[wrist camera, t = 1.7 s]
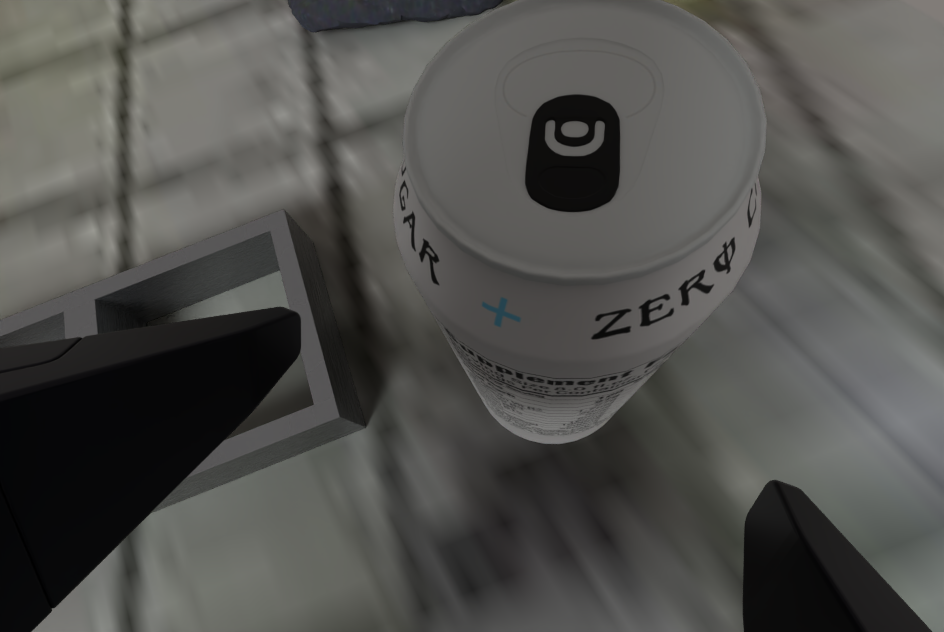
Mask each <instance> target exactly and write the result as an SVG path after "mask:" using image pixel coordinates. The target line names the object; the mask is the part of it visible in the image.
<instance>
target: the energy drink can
mask: <svg viewBox="0 0 944 632" xmlns="http://www.w3.org/2000/svg"><path fill="white" fill-rule="evenodd" d="M766 126H767V119H766V114H765V110H764V105H763V101H762V96H761V92H760V89H759V87H758V85H757V83H756V81H755V78H754V76H753V74H752V72H751V70H750V68H749V66H748V64H747V63H746V61H745V60H744V59H743V58H742V57H741V55H740V54H739V53H738V52H737V51H736V49H735V48H734V47H733V46H732V44H731V43H730V42H729V41H728V40H727V39H726V38H725V37H724V36H722V35H721V34H720V33H719V32H717V31H716V30H715V29H714V28H712V27H711V26H710V25H709V24H708V23H706V22H705V21H704V20H702V19H700V18H698V17H696V16H695V15H693V14H691V13H689V12H687V11H685V10H684V9H682V8H680V7H678V6H676V5H673V4H670V3H667V2H664V1H662V0H518V1H515V2H513V3H510V4H508V5H505V6H503V7H500V8H498V9H495V10H493V11H491V12H490V13H488V14H486V15H484V16H483V17H481V18H479V19H478V20H476V21H474V22H472V23H471V24H469V25H467V26H466V27H465V28H464V29H463V30H461V31H460V32H459V33H458V34H456V35H455V36H454V37H453V38H452V39H450V40H449V41H448V42H447V43H446V44H445V45H444V46H443V47H442V48H441V49H440V51H439V52H438V53H437V54H436V55H435V56H434V57H433V59H432V60H431V61H430V62H429V63H428V64H427V66H426V68H425V69H424V71H423V73H422V75H421V76H420V78H419V80H418V82H417V83H416V85H415V87H414V89H413V91H412V94H411V98H410V101H409V104H408V107H407V110H406V113H405V116H404V128H403V140H402V145H403V152H404V157H403V160H402V163H401V167H400V170H399V173H398V176H397V179H396V183H395V194H394V205H393V218H394V225H395V233H396V240H397V244H398V247H399V250H400V252H401V255H402V258H403V260H404V263H405V266H406V268H407V271H408V273H409V275H410V276H411V278H412V280H413V282H414V283H415V285H416V287H417V289H418V290H419V292H420V294H421V295H422V297H423V299H424V301H425V302H426V304H427V306H428V308H429V309H430V311H431V313H432V315H433V316H434V318H435V320H436V321H437V323H438V325H439V327H440V328H441V330H442V332H443V334H444V335H445V337H446V339H447V340H448V342H449V344H450V346H451V347H452V349H453V351H454V353H455V354H456V356H457V358H458V360H459V361H460V363H461V365H462V366H463V368H464V370H465V372H466V373H467V375H468V377H469V379H470V380H471V382H472V384H473V386H474V387H475V389H476V391H477V392H478V394H479V396H480V398H481V399H482V401H483V403H484V404H485V406H486V407H487V409H488V410H489V412H490V414H491V415H492V416H493V417H494V418H495V419H496V420H497V421H498V422H499V423H500V424H501V425H502V426H503V427H505V428H506V429H508V430H509V431H511V432H512V433H513V434H515V435H517V436H520V437H522V438H524V439H527V440H529V441H534V442H539V443H543V444H562V443H567V442H572V441H576V440H579V439H581V438H584V437H586V436H588V435H590V434H592V433H593V432H595V431H596V430H598V429H599V428H601V427H602V426H603V425H604V424H605V423H606V422H607V421H608V420H609V419H610V418H611V417H612V416H613V415H614V414H615V413H616V412H617V411H618V410H619V409H620V408H621V407H622V406H623V405H624V404H625V402H626V401H627V400H628V399H629V398H630V397H631V396H632V395H633V394H634V393H635V392H636V391H637V390H638V389H639V388H640V387H641V386H642V385H643V384H644V383H645V382H646V381H647V380H648V379H649V378H650V377H651V376H652V375H653V374H654V373H655V372H656V371H657V369H658V368H659V367H660V366H661V365H662V364H663V363H664V362H665V361H666V360H667V359H668V358H669V357H670V356H671V355H672V354H673V353H674V352H675V351H676V350H677V349H678V348H679V347H680V346H681V345H682V344H683V343H684V342H685V341H686V340H687V339H688V338H689V336H690V335H691V334H692V333H693V332H694V331H695V330H696V329H697V328H698V327H699V326H700V325H701V324H702V323H703V322H704V321H705V320H706V319H707V318H708V317H709V316H710V315H711V314H712V313H713V312H714V311H715V309H716V308H717V307H718V306H719V305H720V304H721V303H722V302H723V301H724V300H725V299H726V298H727V297H728V296H729V295H730V294H731V293H732V292H733V290H734V288H735V286H736V285H737V283H738V281H739V280H740V278H741V276H742V274H743V273H744V271H745V269H746V268H747V266H748V264H749V263H750V261H751V257H752V254H753V251H754V247H755V244H756V240H757V237H758V234H759V230H760V218H761V188H760V183H759V178H758V173H759V170H760V167H761V163H762V160H763V157H764V154H765V150H766Z"/></svg>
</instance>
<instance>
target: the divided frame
mask: <svg viewBox="0 0 944 632" xmlns="http://www.w3.org/2000/svg"><path fill="white" fill-rule="evenodd" d="M278 270H280V272H281V276H282V280H283V284H284V287H285V291H286V295H287V299H288V303H289V307H290V310H293V311H295V312H297V313H298V314H299V315H300V317H301V350H300V351H301V355H302V359H303V363H304V367H305V371H306V375H307V379H308V383H309V387H310V391H311V395H312V399H313V403H314V405H312V406H309V407H307V408H304V409H302V410H299V411H297V412H294V413H292V414H289V415H287V416H284V417H282V418H279V419H277V420H274V421H272V422H269V423H267V424H264V425H262V426H259V427H256V428H254V429H251V430H249V431H246V432H244V433H241V434H239V435H236V436H234V437H231V438H229V439H226V440H224V441H223V442H222V443H221V444H220V445H219V446H218V447H217V448H216V449H215V450H214V451H213V452H212V453H211V454H210V455H209V456H208V457H207V458H206V459H205V460H204V461H203V462H202V463H201V464H200V465H199V466H198V467H197V468H196V469H195V470H194V471H193V472H192V473H191V474H190V475H189V476H188V477H187V478H186V479H185V480H184V481H183V482H182V483H181V484H180V485H178V486H177V487H176V488H175V489H174V490H173V491H172V492H171V493H170V494H169V495H168V496H167V497H166V498H165V499H164V500H163V501H162V502H161V503H160V504H159V505H158V506H157V507H156V508H155V509H154V510H153V511H152V512H155V511H157V510H160V509H162V508H165V507H167V506H170V505H172V504H175V503H177V502H180V501H182V500H185V499H187V498H190V497H192V496H195V495H198V494H200V493H203V492H205V491H208V490H210V489H213V488H215V487H218V486H220V485H223V484H225V483H228V482H230V481H233V480H235V479H238V478H240V477H243V476H245V475H248V474H250V473H253V472H255V471H258V470H260V469H263V468H265V467H268V466H270V465H273V464H275V463H278V462H280V461H283V460H285V459H288V458H290V457H293V456H295V455H298V454H300V453H303V452H306V451H308V450H311V449H313V448H316V447H318V446H321V445H323V444H326V443H328V442H331V441H333V440H336V439H338V438H341V437H343V436H346V435H348V434H351V433H353V432H356V431H358V430H361V429H363V428H366V425H365V422H364V419H363V415H362V412H361V408H360V405H359V401H358V398H357V394H356V391H355V387H354V384H353V380H352V377H351V373H350V370H349V366H348V363H347V359H346V356H345V352H344V349H343V345H342V342H341V338H340V335H339V331H338V328H337V324H336V321H335V317H334V314H333V310H332V307H331V303H330V300H329V296H328V293H327V289H326V286H325V282H324V279H323V276H322V272H321V269H320V265H319V262H318V258H317V255H316V251H315V248H314V244H313V242H312V240H311V239H310V238H309V237H308V236H307V235H306V234H305V232H304V231H303V230H302V229H301V228H300V227H299V226H298V225H297V223H296V222H295V221H294V220H293V219H292V218H291V217H290V216H289V214H288V213H287V212H286V211H285V210H284V209H282V210H280V211H277V212H275V213H272V214H270V215H267V216H264V217H262V218H259V219H257V220H254V221H252V222H249V223H247V224H244V225H242V226H239V227H236V228H234V229H231V230H229V231H226V232H224V233H221V234H219V235H216V236H213V237H211V238H208V239H206V240H203V241H201V242H198V243H196V244H193V245H190V246H188V247H185V248H183V249H180V250H178V251H175V252H173V253H170V254H167V255H165V256H162V257H160V258H157V259H155V260H152V261H150V262H147V263H145V264H142V265H139V266H137V267H134V268H132V269H129V270H127V271H124V272H122V273H119V274H116V275H114V276H111V277H109V278H106V279H104V280H101V281H99V282H96V283H93V284H91V285H88V286H86V287H83V288H81V289H78V290H76V291H73V292H70V293H68V294H65V295H63V296H60V297H58V298H55V299H53V300H50V301H48V302H45V303H42V304H40V305H37V306H35V307H32V308H30V309H27V310H25V311H22V312H19V313H17V314H14V315H12V316H9V317H7V318H4V319H2V320H0V348H3V347H12V346H20V345H27V344H34V343H41V342H48V341H56V340H62V339H69V338H75V337H82V338H84V337H85V336H89V335H96V334H102V333H109V332H116V331H122V330H129V329H135V328H142V327H147V323H146V322H149V321H151V320H154V319H156V318H159V317H161V316H164V315H166V314H169V313H171V312H174V311H176V310H179V309H182V308H184V307H187V306H189V305H192V304H194V303H197V302H199V301H202V300H204V299H207V298H210V297H212V296H215V295H217V294H220V293H222V292H225V291H227V290H230V289H232V288H235V287H238V286H240V285H243V284H245V283H248V282H250V281H253V280H255V279H258V278H260V277H263V276H265V275H268V274H271V273H273V272H276V271H278ZM152 512H151V513H152Z"/></svg>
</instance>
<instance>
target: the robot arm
mask: <svg viewBox="0 0 944 632" xmlns="http://www.w3.org/2000/svg"><path fill="white" fill-rule="evenodd" d="M300 350H301V317H300V315H299V314H298V313H297V312H295V311H293V310H290V309H287V308H284V307H274V308H268V309H261V310H254V311H248V312H241V313H234V314H228V315H221V316H215V317H208V318H201V319H195V320H188V321H182V322H175V323H168V324H162V325H155V326H149V327H142V328H135V329H129V330H122V331H116V332H109V333H102V334H96V335H89V336H85V337H84V338H82V337H75V338H69V339H62V340H56V341H48V342H41V343H34V344H27V345H20V346H12V347H3V348H0V632H31V631H32V630H33V629H35V628H36V627H37V626H38V625H39V624H40V623H41V622H42V621H43V620H44V619H45V618H46V617H47V616H48V615H49V614H50V613H51V611H52V608H55V607H56V606H57V605H58V604H59V603H60V602H61V601H62V600H63V599H64V598H65V597H66V596H67V595H68V594H69V593H70V592H71V591H72V590H73V589H74V588H75V587H77V586H78V585H79V584H80V583H81V582H82V581H83V580H84V579H85V578H86V577H87V576H88V575H89V574H90V573H91V572H92V571H93V570H94V569H95V568H96V567H97V566H98V565H99V564H100V563H101V562H102V561H103V560H104V559H105V558H106V557H107V556H108V555H109V554H110V553H111V552H112V551H113V550H114V549H115V548H116V547H117V546H118V545H119V544H120V543H121V542H122V541H123V540H124V539H125V538H126V537H127V536H128V535H129V534H130V533H131V532H132V531H133V530H134V529H135V528H136V527H137V526H138V525H139V524H140V523H141V522H142V521H143V520H144V519H145V518H146V517H147V516H148V515H149V514H150V513H151V512H152V511H153V510H154V509H155V508H156V507H157V506H158V505H159V504H160V503H161V502H162V501H163V500H164V499H165V498H166V497H167V496H168V495H169V494H170V493H171V492H172V491H173V490H174V489H175V488H176V487H177V486H178V485H180V484H181V483H182V482H183V481H184V480H185V479H186V478H187V477H188V476H189V475H190V474H191V473H192V472H193V471H194V470H195V469H196V468H197V467H198V466H199V465H200V464H201V463H202V462H203V461H204V460H205V459H206V458H207V457H208V456H209V455H210V454H211V453H212V452H213V451H214V450H215V449H216V448H217V447H218V446H219V445H220V444H221V443H222V442H223V441H224V440H225V439H226V438H227V437H228V436H229V435H230V434H231V433H232V432H233V431H234V430H235V429H236V428H237V427H238V426H239V425H240V424H241V423H242V422H243V421H244V420H245V419H246V418H247V417H248V416H249V415H250V414H251V413H252V412H253V411H254V409H255V408H256V407H257V406H258V405H259V404H260V403H261V401H262V400H263V399H264V398H265V397H266V395H267V394H268V393H269V392H270V390H271V389H272V388H273V387H274V386H275V384H276V383H277V382H278V381H279V380H280V378H281V377H282V376H283V375H284V373H285V372H286V371H287V370H288V369H289V367H290V366H291V365H292V364H293V362H294V361H295V360H296V359H297V357H298V355H299V353H300ZM743 625H744V632H932V631H931V630H930V629H929V628H928V626H927V625H926V624H925V623H924V622H923V621H922V620H921V619H920V618H919V617H918V616H917V615H916V613H915V612H914V611H913V610H912V609H911V608H910V607H909V606H908V605H907V604H906V603H905V602H904V600H903V599H902V598H901V597H900V596H899V595H898V594H897V593H896V592H895V591H894V590H893V589H892V587H891V586H890V585H889V584H888V583H887V582H886V581H885V580H884V579H883V578H882V577H881V576H880V574H879V573H878V572H877V571H876V570H875V569H874V568H873V567H872V566H871V565H870V564H869V563H868V561H867V560H866V559H865V558H864V557H863V556H862V555H861V554H860V553H859V552H858V551H857V550H856V548H855V547H854V546H853V545H852V544H851V543H850V542H849V541H848V540H847V539H846V538H845V537H844V535H843V534H842V533H841V532H840V531H839V530H838V529H837V528H836V527H835V526H834V525H833V524H832V523H831V521H830V520H829V519H828V518H827V517H826V516H825V515H824V514H823V513H822V512H821V511H820V510H819V508H818V507H817V506H816V505H815V504H814V503H813V502H812V501H811V500H810V499H809V498H808V497H807V495H806V494H805V493H804V492H803V491H802V490H801V489H799V488H797V487H795V486H792V485H789V484H786V483H783V482H780V481H778V480H772V481H769V482H768V483H767V484H766V485H765V487H764V488H763V490H762V492H761V493H760V495H759V496H758V498H757V499H756V501H755V503H754V504H753V506H752V507H751V509H750V511H749V512H748V514H747V517H746V521H745V529H744V569H743Z"/></svg>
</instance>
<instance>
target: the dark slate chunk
mask: <svg viewBox="0 0 944 632" xmlns="http://www.w3.org/2000/svg"><path fill="white" fill-rule="evenodd" d="M502 1H503V0H288V4H289V7H290V8H291V9H292V14H293V15H294V16H295V18H296V19H297V20H298V21H299V23H300V24H301V25H302V27H304V28H305V29H307V30H309V31H311V32H319V31H323V30H328V29H340V28H344V27H347V28H360V27H364V26H367V25H378V24H389V23H393V22H397V21H401V20H417V21H421V22H427V21H436V20H441V19H445V18H453V17H458V16H466V15H469V16H471V15H477V14H480V13H481V12H483V11H484V10H486V9H491V8H494V7H496V6H497V5H498V4H500V3H501V2H502Z"/></svg>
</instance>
